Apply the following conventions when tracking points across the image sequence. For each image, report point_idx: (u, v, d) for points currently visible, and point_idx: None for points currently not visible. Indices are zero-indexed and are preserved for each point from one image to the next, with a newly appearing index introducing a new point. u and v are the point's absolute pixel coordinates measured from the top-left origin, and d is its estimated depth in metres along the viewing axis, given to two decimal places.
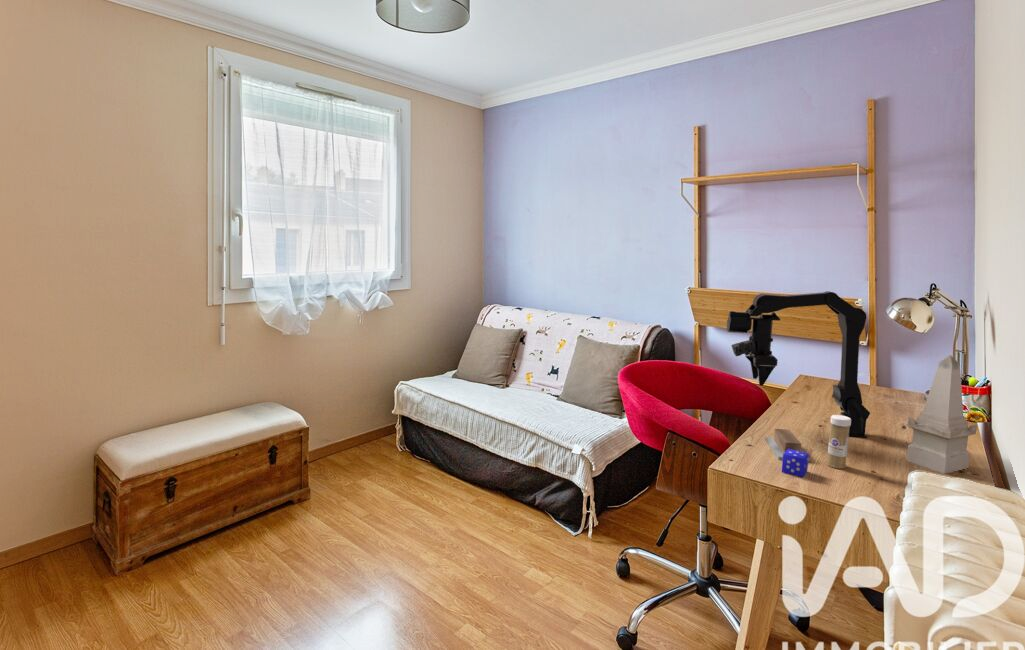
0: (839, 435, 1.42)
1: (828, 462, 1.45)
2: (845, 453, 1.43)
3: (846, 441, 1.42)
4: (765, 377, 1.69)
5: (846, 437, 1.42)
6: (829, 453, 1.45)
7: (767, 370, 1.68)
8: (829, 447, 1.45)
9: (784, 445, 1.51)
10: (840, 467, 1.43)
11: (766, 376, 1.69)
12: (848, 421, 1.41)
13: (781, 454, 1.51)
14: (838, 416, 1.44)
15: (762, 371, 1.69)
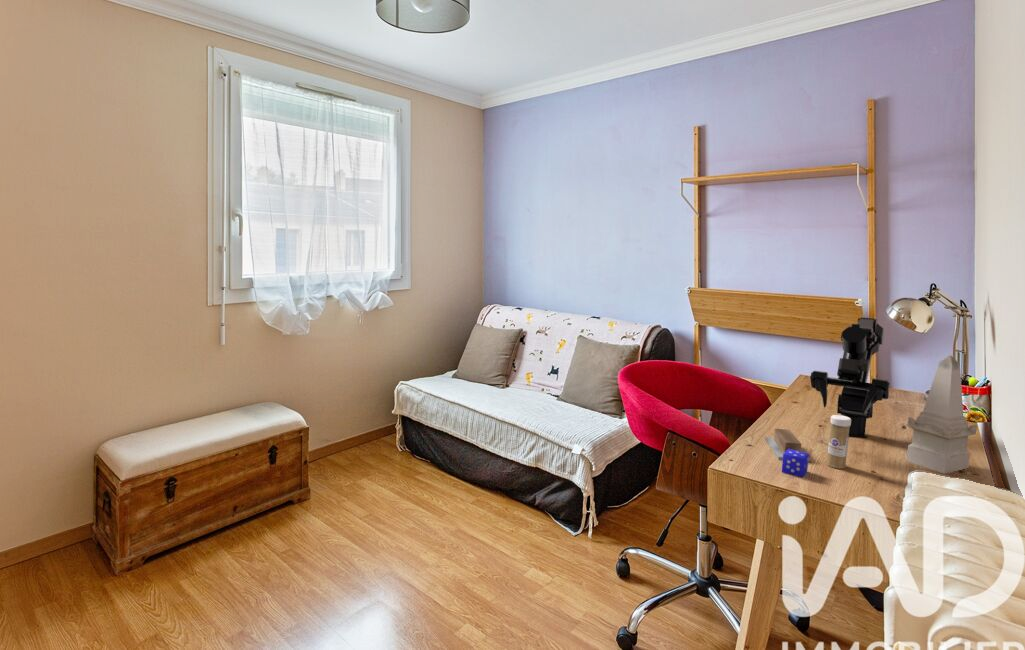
0: (839, 435, 1.42)
1: (828, 462, 1.45)
2: (845, 453, 1.43)
3: (846, 441, 1.42)
4: (869, 406, 1.48)
5: (846, 437, 1.42)
6: (829, 453, 1.45)
7: (872, 400, 1.49)
8: (829, 447, 1.45)
9: (784, 445, 1.51)
10: (840, 467, 1.43)
11: (870, 406, 1.48)
12: (848, 421, 1.41)
13: (781, 454, 1.51)
14: (838, 416, 1.44)
15: None
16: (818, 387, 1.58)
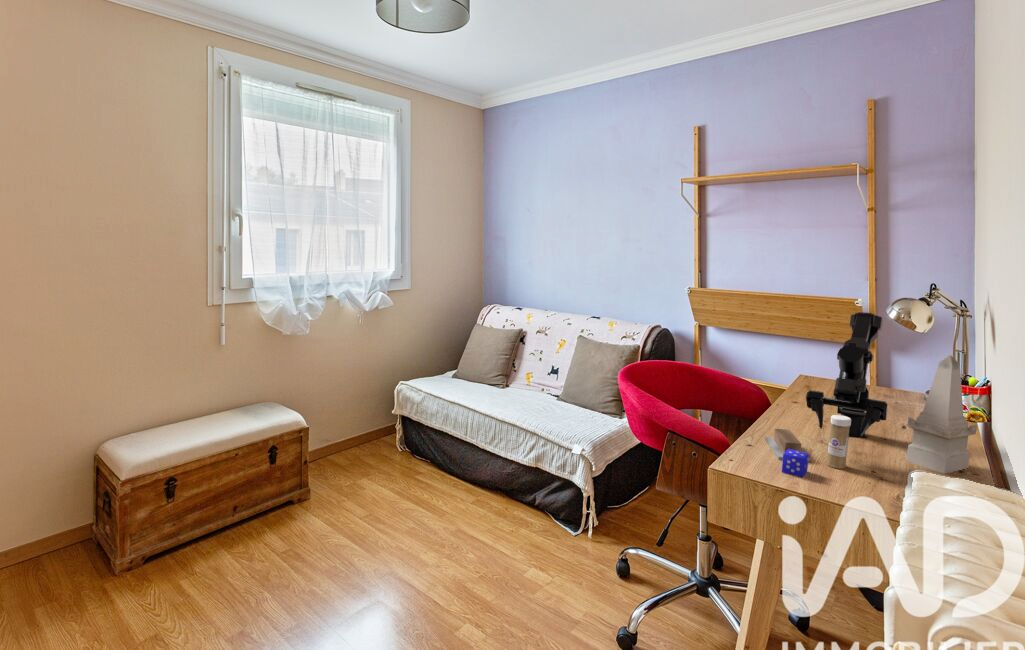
0: (839, 435, 1.42)
1: (828, 462, 1.45)
2: (845, 453, 1.43)
3: (846, 441, 1.42)
4: (866, 428, 1.43)
5: (846, 437, 1.42)
6: (829, 453, 1.45)
7: (870, 421, 1.44)
8: (829, 447, 1.45)
9: (784, 445, 1.51)
10: (840, 467, 1.43)
11: (867, 427, 1.44)
12: (848, 421, 1.41)
13: (781, 454, 1.51)
14: (838, 416, 1.44)
15: (868, 420, 1.44)
16: (814, 407, 1.53)
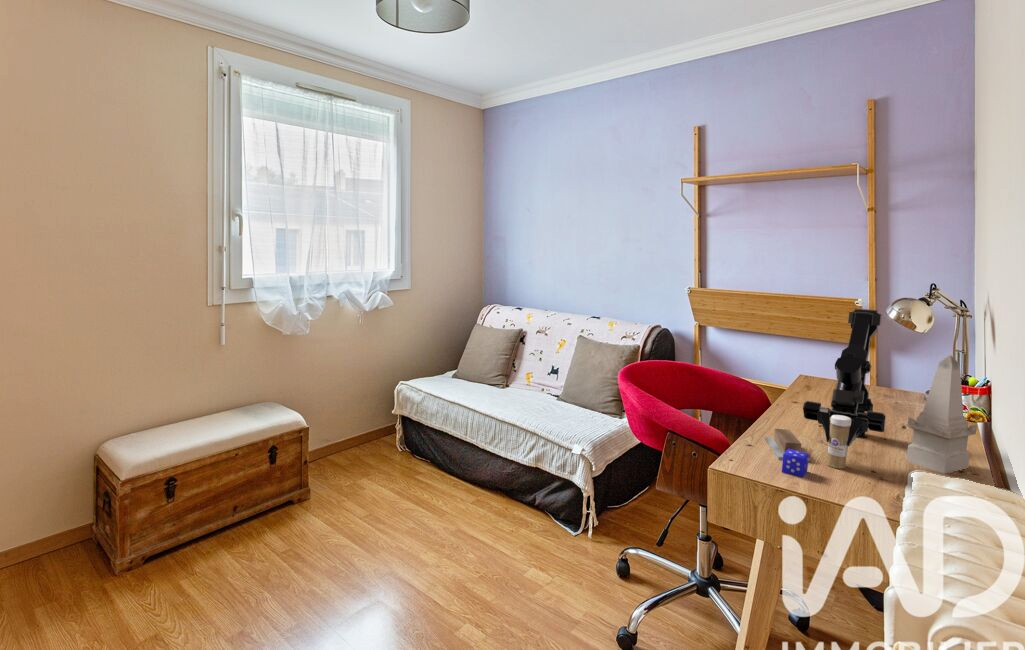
0: (839, 435, 1.42)
1: (828, 462, 1.45)
2: (845, 453, 1.43)
3: (846, 441, 1.42)
4: (854, 438, 1.43)
5: (846, 437, 1.42)
6: (829, 453, 1.45)
7: (858, 431, 1.44)
8: (829, 447, 1.45)
9: (784, 445, 1.51)
10: (840, 467, 1.43)
11: (855, 437, 1.43)
12: (848, 421, 1.41)
13: (781, 454, 1.51)
14: (838, 416, 1.44)
15: None
16: (820, 420, 1.50)
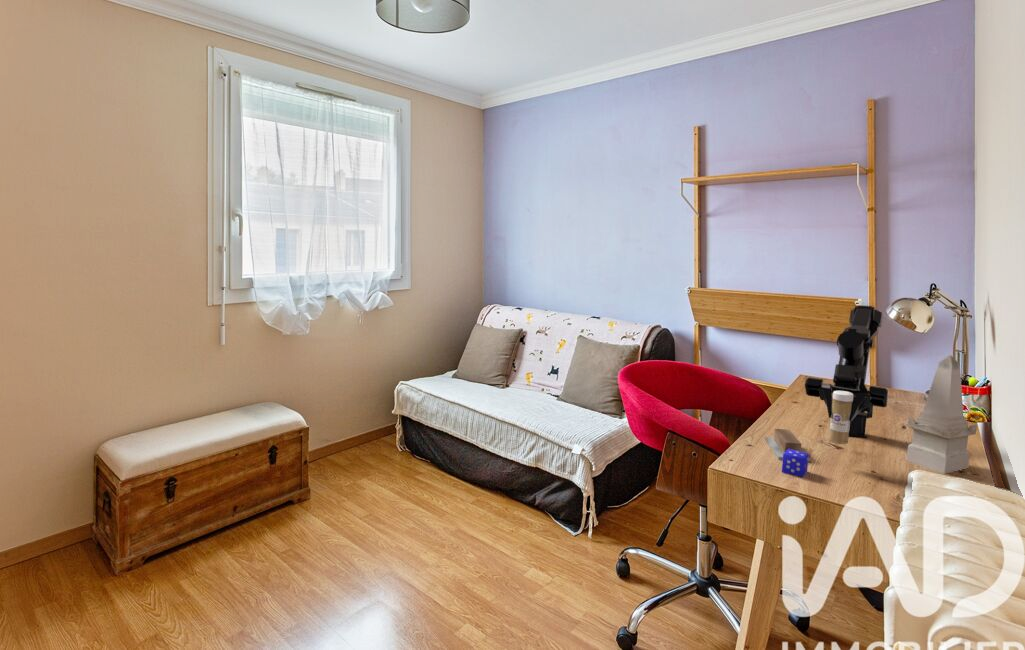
0: (841, 411, 1.41)
1: (830, 438, 1.44)
2: (847, 428, 1.42)
3: (848, 416, 1.41)
4: (856, 413, 1.42)
5: (848, 412, 1.41)
6: (831, 429, 1.44)
7: (860, 407, 1.43)
8: (831, 423, 1.44)
9: (784, 445, 1.51)
10: (842, 443, 1.42)
11: (857, 413, 1.42)
12: (850, 396, 1.40)
13: (781, 454, 1.51)
14: (840, 391, 1.43)
15: None
16: (822, 396, 1.49)
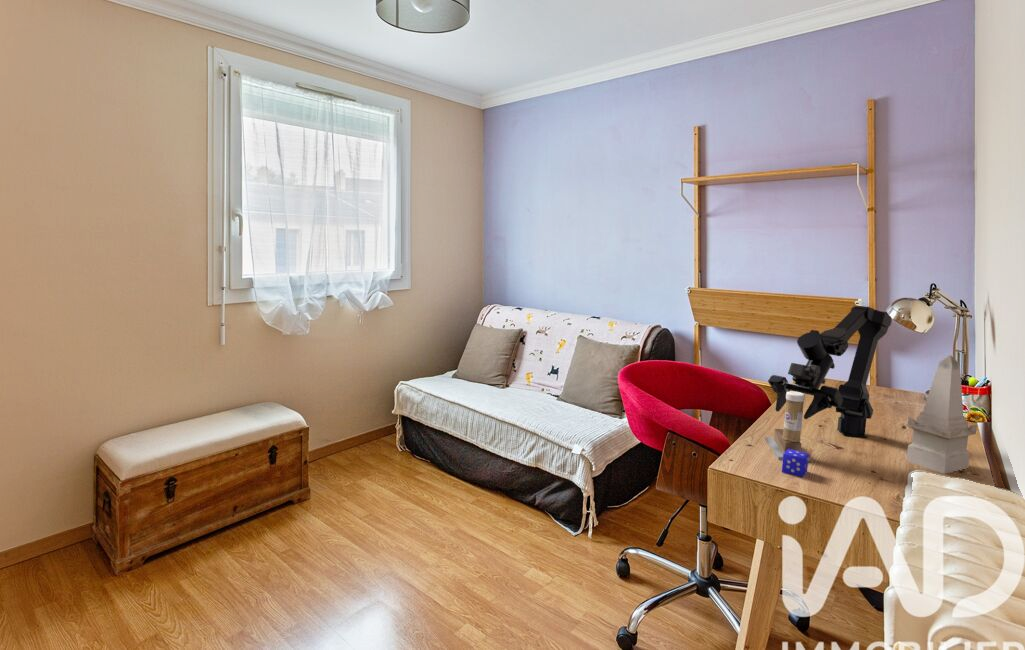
0: (790, 410, 1.49)
1: (783, 435, 1.52)
2: (797, 427, 1.49)
3: (798, 416, 1.49)
4: (814, 412, 1.47)
5: (797, 412, 1.49)
6: (784, 427, 1.52)
7: (820, 406, 1.48)
8: (784, 421, 1.52)
9: (784, 445, 1.51)
10: (791, 440, 1.50)
11: (815, 412, 1.47)
12: (799, 396, 1.48)
13: (781, 454, 1.51)
14: (793, 392, 1.51)
15: (816, 405, 1.47)
16: None
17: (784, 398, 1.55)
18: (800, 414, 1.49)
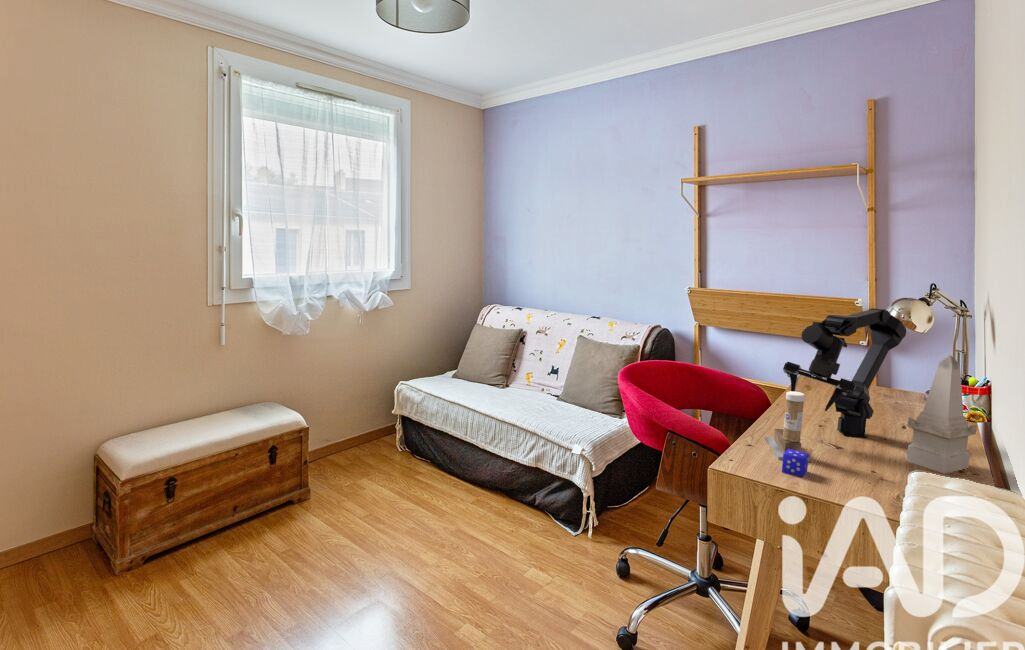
0: (790, 410, 1.49)
1: (783, 435, 1.52)
2: (797, 427, 1.49)
3: (798, 416, 1.49)
4: (832, 403, 1.57)
5: (798, 412, 1.49)
6: (784, 427, 1.52)
7: (837, 396, 1.58)
8: (784, 421, 1.52)
9: (784, 445, 1.51)
10: (791, 440, 1.50)
11: (833, 402, 1.58)
12: (799, 396, 1.48)
13: (781, 454, 1.51)
14: (793, 392, 1.51)
15: None
16: (789, 376, 1.65)
17: (796, 384, 1.63)
18: (800, 414, 1.49)
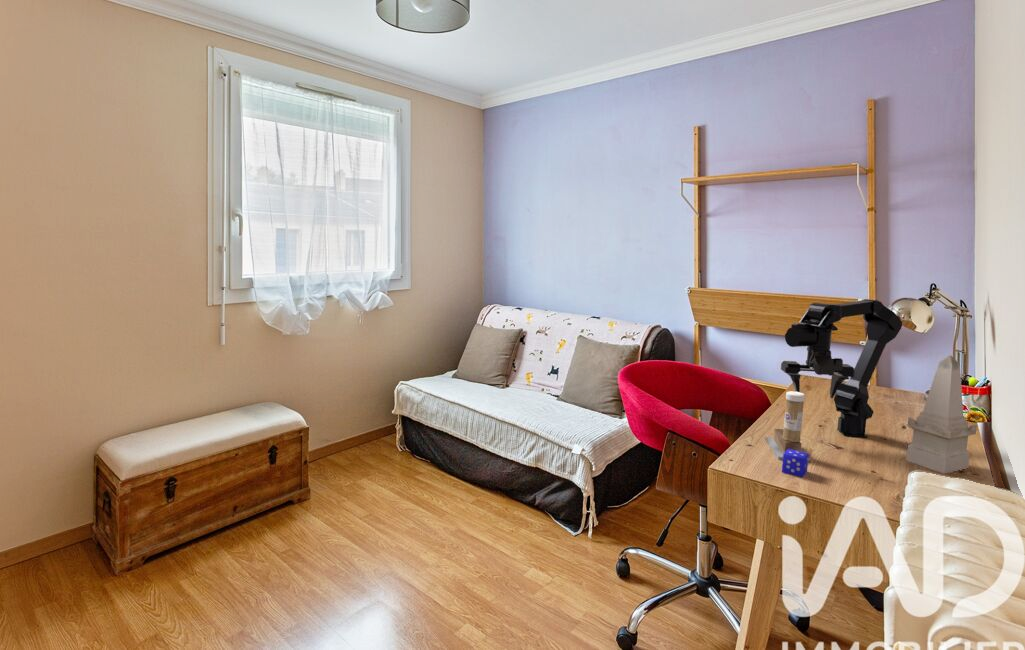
0: (790, 410, 1.49)
1: (783, 435, 1.52)
2: (797, 427, 1.49)
3: (798, 416, 1.49)
4: None
5: (798, 412, 1.49)
6: (784, 427, 1.52)
7: None
8: (784, 421, 1.52)
9: (784, 445, 1.51)
10: (791, 440, 1.50)
11: None
12: (799, 396, 1.48)
13: (781, 454, 1.51)
14: (793, 392, 1.51)
15: None
16: None
17: None
18: (800, 414, 1.49)
